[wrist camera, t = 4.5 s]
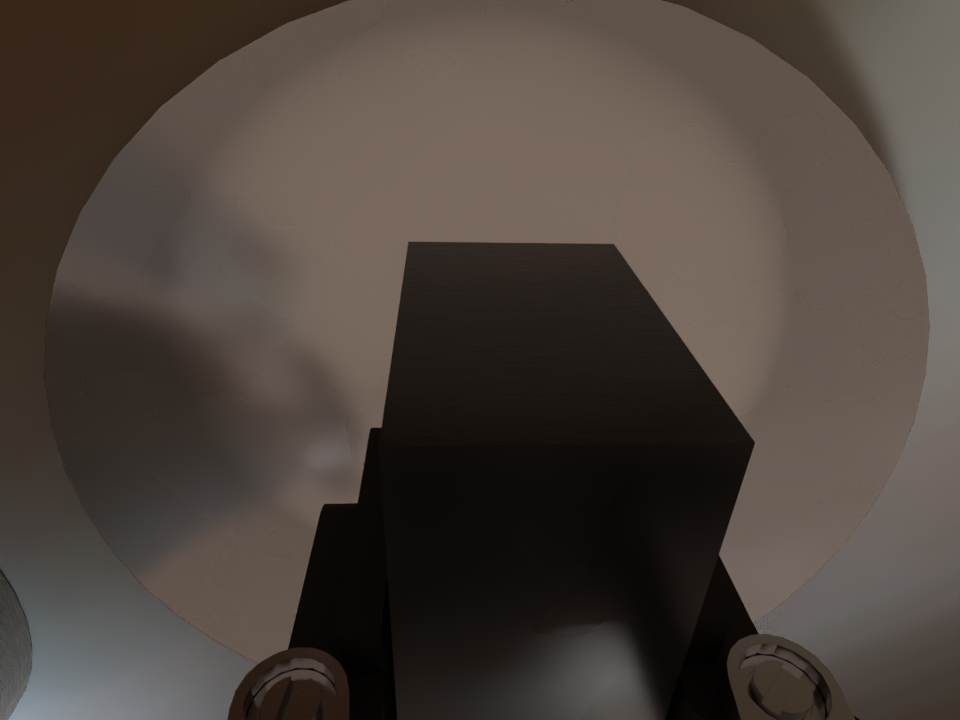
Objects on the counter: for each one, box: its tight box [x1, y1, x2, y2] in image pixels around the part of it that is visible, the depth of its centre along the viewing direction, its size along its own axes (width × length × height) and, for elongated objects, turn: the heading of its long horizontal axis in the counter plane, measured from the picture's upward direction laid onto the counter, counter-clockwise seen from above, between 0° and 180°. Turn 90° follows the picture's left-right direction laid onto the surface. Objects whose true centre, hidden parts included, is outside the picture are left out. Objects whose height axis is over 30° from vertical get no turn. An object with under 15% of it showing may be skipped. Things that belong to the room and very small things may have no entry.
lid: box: [44, 0, 930, 720], centre depth 10 cm, size 16×16×6 cm
